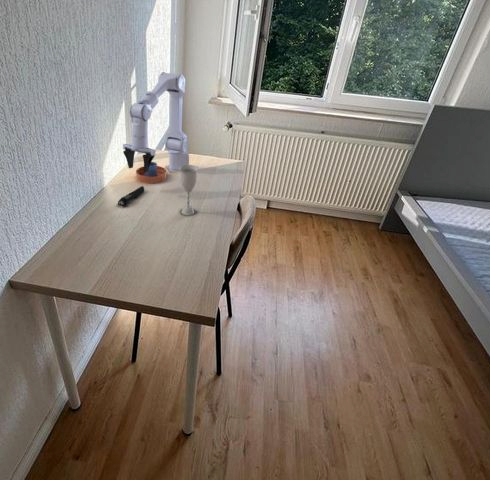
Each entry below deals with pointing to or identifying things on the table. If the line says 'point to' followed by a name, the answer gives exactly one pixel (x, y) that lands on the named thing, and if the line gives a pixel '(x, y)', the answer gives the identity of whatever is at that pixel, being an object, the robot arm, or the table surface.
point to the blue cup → (152, 170)
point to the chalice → (188, 185)
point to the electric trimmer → (130, 196)
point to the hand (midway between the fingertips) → (138, 169)
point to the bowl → (159, 178)
